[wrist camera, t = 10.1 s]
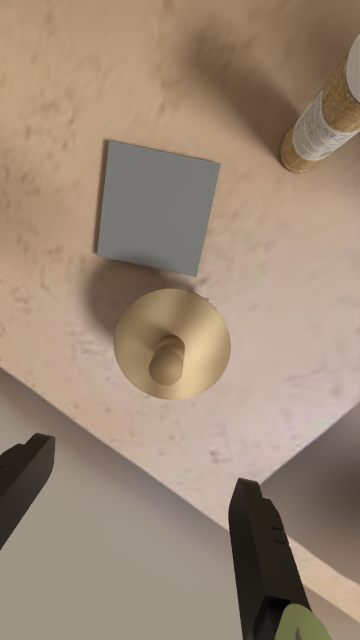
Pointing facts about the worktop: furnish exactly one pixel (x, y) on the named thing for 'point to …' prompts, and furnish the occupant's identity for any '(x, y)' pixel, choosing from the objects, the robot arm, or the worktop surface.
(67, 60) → the worktop surface
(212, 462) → the worktop surface
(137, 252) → the mat
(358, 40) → the sprinkles bottle
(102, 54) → the worktop surface
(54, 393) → the worktop surface
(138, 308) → the lid
